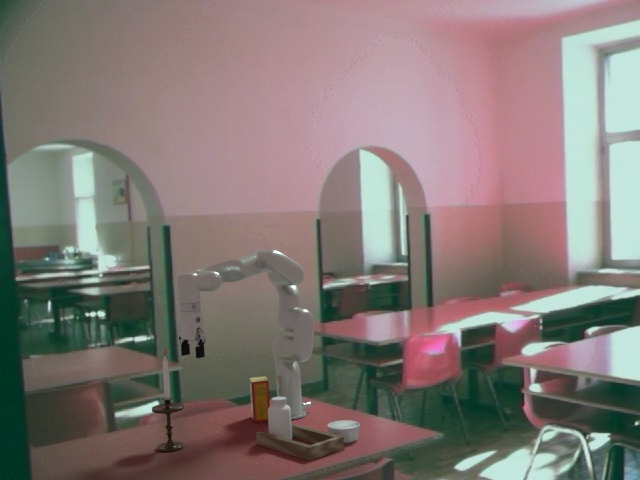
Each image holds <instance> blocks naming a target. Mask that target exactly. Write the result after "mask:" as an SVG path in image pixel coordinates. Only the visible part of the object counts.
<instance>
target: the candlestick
mask: <svg viewBox="0 0 640 480" xmlns="http://www.w3.org/2000/svg"><path fill="white" fill-rule="evenodd" d="M167 348H168V347H165V349H164V352H163V356H164V357H163V360H162V373H163V374H162V375H163V377H162V379H163V392H164V397H163V398H162V399H161V401H164V403H161V404H157V405H154V406H152V407H151V412H152V413H153V414H164V415H165V416H166V425H164V428H165V430H166V433H165V435H166V436H167V441H166V442H163V443H160V444H159V445H157V446H156V451H157V452H159V453H171V452H172V453H173V452H177V451H181V450H182V449H184V446H185V445H184V443H183V442H182V441H174V440H173V438H172V437H173V434H174V432H173V431H172V430H173V428H174V425H173V423H172V419H171V414H173V413H177V412H180V411H183V410H184V409H185V404H184V403H181V402H172V401H171V400H174V398H173V397H171V390H170V389H171V388H170V387H171V386H170V376H169V375H170V373H169V370H170V369H169V359H167V356H166V355H167V350H168V349H167Z"/></svg>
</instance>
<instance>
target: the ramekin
mask: <svg viewBox="0 0 640 480" xmlns="http://www.w3.org/2000/svg"><path fill="white" fill-rule="evenodd" d="M360 426H361V425H360V423H359V422H358V421H355V420H348V419H347V420H346V419H345V420H343V419H341V420H335V421H331V422H329V423H327V427H326V428H327V430H328V433H331V434H335V435H339V436H343V437H344V444H349V443H354V442H355V441H357V440H358V438H359V433H360Z"/></svg>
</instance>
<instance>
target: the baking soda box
mask: <svg viewBox="0 0 640 480" xmlns="http://www.w3.org/2000/svg"><path fill="white" fill-rule="evenodd" d="M248 380H249V395H250V411H251V412H250V413H251V419H252V422H253V424H257V423H259V424H260V423H265V422H266V423H268V408H269V407H270V406H271V403H270V401H271V400H270V385H269V380H268V377H267V376H255V377H249V378H248Z"/></svg>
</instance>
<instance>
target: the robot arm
mask: <svg viewBox="0 0 640 480" xmlns="http://www.w3.org/2000/svg"><path fill="white" fill-rule="evenodd" d="M263 273H266V274H267V278H268V280H269V282H270V283H271V284H272V285H273V286H274V287H275V289H276V290H277V293H278V311H277V312H278V314H277V326H278V328H279V330H280V331H282V332H286V333H291V334H292V333H293V335H280V336H277V338H275V339H274V340H273V343H272V345H271V351H272V357H273V360H274V364H275V379H276V394H277V396H276V397H286V399H287V402H286V405H288V406H289V407H290V409H291V420H296V419H301V418H304V417H306V416H307V411H306V410H305V409H306V408H310V407H312V403H311V401H309V402H306V403H305V402H304V401H303V400H302V399H303V398H302V385H301V384H302V381H301V369H300V365H299V363H304V362H307V361H309V359H310V358H311V356H312V355H313V350H314V337H315V319H314V315H313V314H312V312H311V310H308V309H307V308H306V309H305V308H301V293H300V290H299V287H298V285H300V284H302V283H303V280H304V279H305V270H304V268H303V267H302V265H300V263H298V262H296V261H294V260H293V259H292V258H290V257H289V256H287V255H286V254H284V253H282V252H280V251H278V250H275V249H264V250H263V249H262V250H261V249H260V250H257V251H254V252H253V251H252V252H251V253H247V254H245V255H242V256H239V257H236V258H233V259H230V260H225V261H222V262H219V263H214V264H211V265H207V266H204V267H202V268H198V269H195V270H194V271H192V272H183V273H179V274H178V275H177V295H178V296H177V297H178V298H177V299H178V311H179V329H178V331H177V336H178V339H179V343H180V352H181V353H180V355H181V356H183V357H184V356H188V355H191V346H190V345H191V344H190V341H191V342H194V344H195V359H201V358H205V355H206V354H205V346H206V345H205V343H206V339H207V334H206V329H205V322H204V321H205V320H204V317H203V312H202V307H201V306H202V305H201V292H206V293H207V292H208V293H209V292H210V293H211V292H215V291H217V290H219V289H220V288H221V286H222V284H224V283H225V284H226V283H236V282H242V281H244V280H246V279H248V278H252V277H254V276H257V275H260V274H263Z"/></svg>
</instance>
